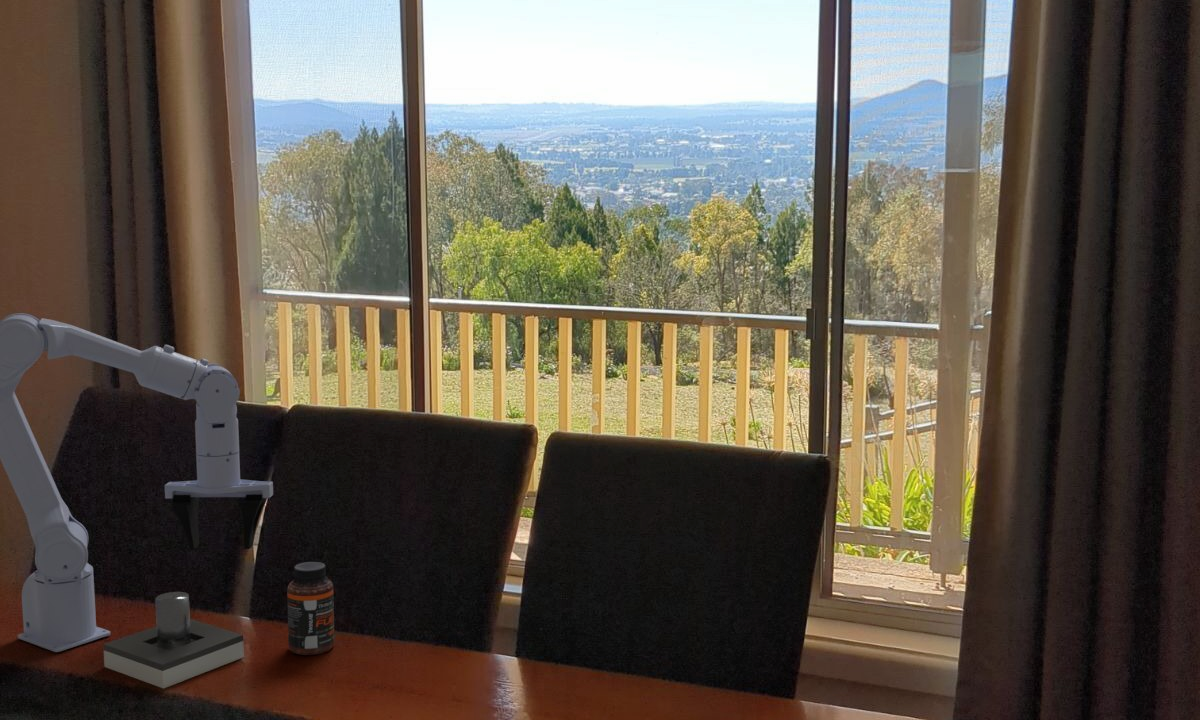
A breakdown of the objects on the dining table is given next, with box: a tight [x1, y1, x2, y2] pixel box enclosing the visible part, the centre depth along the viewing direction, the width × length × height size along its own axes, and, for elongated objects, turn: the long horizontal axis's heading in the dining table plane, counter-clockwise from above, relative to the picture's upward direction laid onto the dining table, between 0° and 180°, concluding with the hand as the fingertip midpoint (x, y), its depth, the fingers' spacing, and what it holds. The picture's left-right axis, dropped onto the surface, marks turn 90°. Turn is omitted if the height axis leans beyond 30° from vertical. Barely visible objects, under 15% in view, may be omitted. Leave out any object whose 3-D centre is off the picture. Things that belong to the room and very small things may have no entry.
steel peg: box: [154, 591, 191, 650], centre depth 146 cm, size 4×4×8 cm
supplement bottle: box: [286, 561, 335, 656], centre depth 151 cm, size 6×6×11 cm
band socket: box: [102, 618, 245, 689], centre depth 147 cm, size 12×12×3 cm
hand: (221, 547), depth 162 cm, fingers open, 7 cm apart
